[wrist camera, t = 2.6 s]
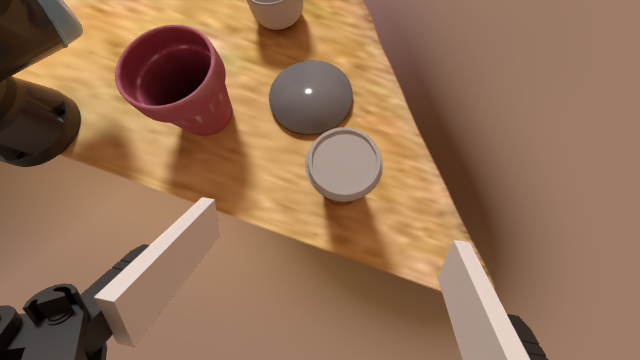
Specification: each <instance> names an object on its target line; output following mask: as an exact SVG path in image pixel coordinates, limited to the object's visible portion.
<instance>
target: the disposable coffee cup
mask: <svg viewBox="0 0 640 360" xmlns="http://www.w3.org/2000/svg"><path fill="white" fill-rule="evenodd" d="M305 167H306V173H307V176H308V179H309V181H310V183H311V184H312V186H313V187H314V188H315V189H316V190H317V191H318V192H319V193H320V194H321V195H323V196H325V198H326V199H327V200H328V201H330V202H331V203H333V204H336V205H347V204H350V203H352V202H353V201H354V200H356V199H359V198H362V197H364V196H365V195H367V194H368V193H370V192H371V191H372V190H373V189H374V188H375V186H376V185H377V183H378V182H379V180H380V177H381V175H382V170H383V160H382V156H381V153H380V151H379V149H378V147H377V145H376V144H375V143H374V141H373V140H372V139H371V138H370V137H369V136H368V135H366V134H365V133H363V132H361V131H359V130H356V129H353V128H347V127H340V128H335V129H332V130H329V131H327V132H325V133H323V134H322V135H321V136H320V137H318V138H317V139H316V140H315V141H314V142H313V144H312V145H311V147H310V148H309V150H308V153H307V156H306V162H305Z"/></svg>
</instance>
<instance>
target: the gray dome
mask: <svg viewBox="0 0 640 360" xmlns="http://www.w3.org/2000/svg"><path fill="white" fill-rule="evenodd" d="M269 102H270V107H271V110H272V112H273V114H274V116H275V118H276V119H277V121H278V122H279V123H280V124H281V125H282V126H284V127H285V128H286V129H288V130H290V131H292V132H295V133H298V134H303V135H316V134H321V133H324V132H327V131H329V130H331V129H333V128H335V127H336V126H338V125H339V124H340V123H341V122H342V121H343V120H344V119H345V117H346V116H347V114H348V112H349V110H350V108H351V103H352V87H351V84H350V82H349V80H348V78H347V76H346V75H345V74H344V73H343V72H342V71H341V70H340V69H339V68H337V67H336V66H334V65H332V64H329V63H327V62H323V61H316V60H310V61H302V62H299V63H296V64H293V65H291V66H289V67H287V68H286V69H285V70H283V71H282V72H281V73H280V74H279V75H278V76H277V77H276V79H275V80H274V82H273V84H272V86H271V89H270V94H269Z"/></svg>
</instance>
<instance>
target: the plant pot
mask: <svg viewBox="0 0 640 360" xmlns="http://www.w3.org/2000/svg"><path fill="white" fill-rule="evenodd" d="M225 76H226V73H225V67H224V64H223V61H222V60H221V58H220V56H219V54H218V52H217V51H216V49H215V48H214V46H213V45H212V43H211V42H210V40H209V39H208V38H207V37H206V36H205V35H204V34H203V33H201V32H200V31H198V30H196V29H194V28H192V27H188V26H184V25H165V26H161V27H157V28H154V29H152V30H149V31H147V32H145V33H143V34H142V35H140V36H139V37H137V38H136V39H135V40H134V41H133V42H131V43H130V44H129V45H128V47H127V48H126V49H125V50H124V52H123V53H122V55H121V56H120V58H119V60H118V63H117V66H116V70H115V81H116V85H117V88H118V90H119V92H120V94H121V95H122V96H123V98H124V99H125V100H126V101H128V102H129V103H130V104H131V105H132V106H134V107H135V108H136V109H137V110H139V111H140V112H141V113H143V114H144V115H146V116H147V117H149V118H151V119H153V120H156V121H160V122H167V123H172V124H174V125H176V126H178V127H180V128H183V129H185V130H187V131H190V132H192V133H194V134H197V135H211V134H214V133H216V132H218V131H220V130H221V129H223V128H224V127H225V126H226V125H227V123H228V122H229V120H230V118H231V115H232V105H231V102H230V99H229V96H228V92H227V89H226V85H225Z"/></svg>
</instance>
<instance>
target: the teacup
mask: <svg viewBox="0 0 640 360" xmlns="http://www.w3.org/2000/svg"><path fill="white" fill-rule="evenodd" d="M247 2H248V4H249V7H250V9H251V11H252V13H253V15H254V17H255V19H256V20H257V21H258V22H259V23H260V24H261V25H262V26H264V27H266V28H269V29H273V30H280V29H285V28H287V27H289V26H291V25H292V24H294V23H295V22H296V21H297V20H298V19H299V17H300V15H301V13H302V10H303V0H247Z"/></svg>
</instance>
